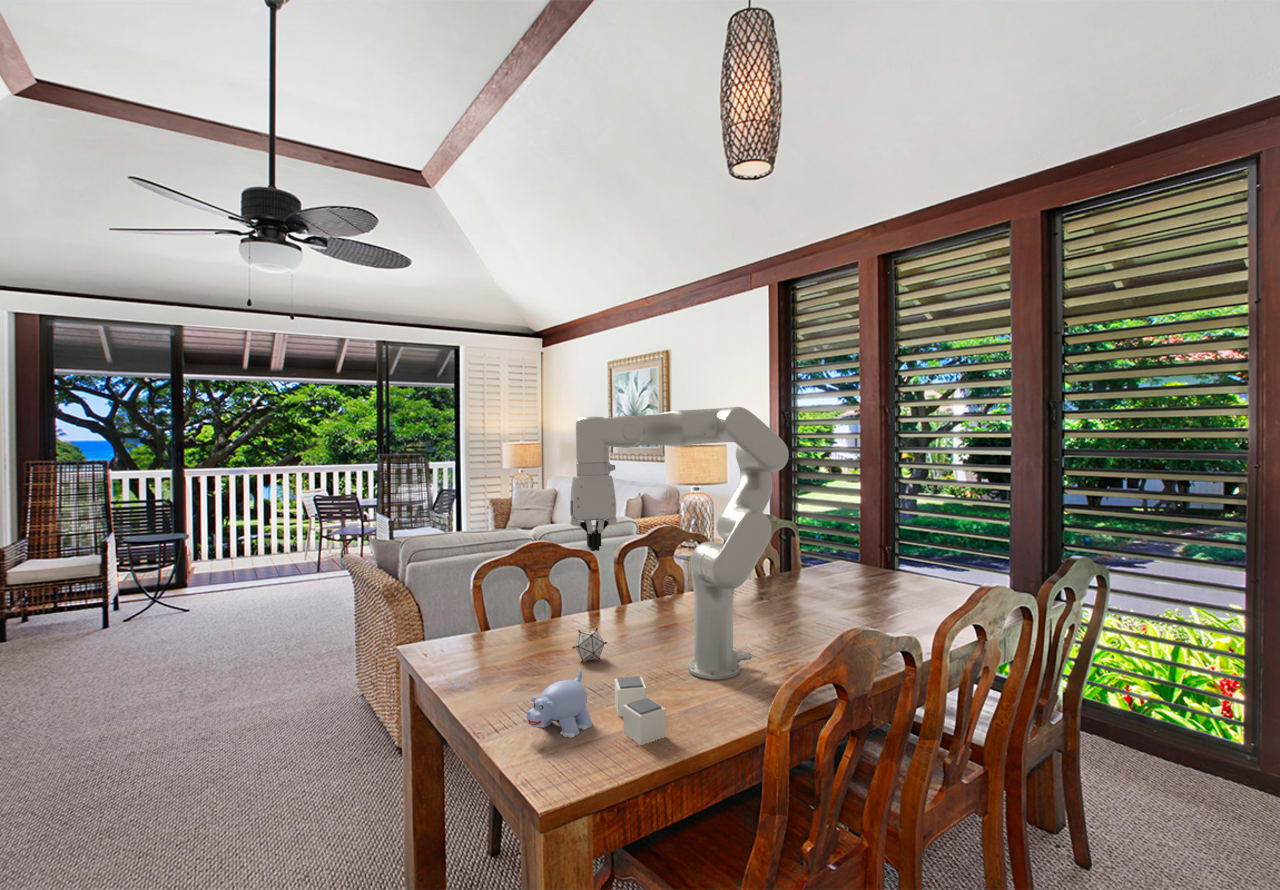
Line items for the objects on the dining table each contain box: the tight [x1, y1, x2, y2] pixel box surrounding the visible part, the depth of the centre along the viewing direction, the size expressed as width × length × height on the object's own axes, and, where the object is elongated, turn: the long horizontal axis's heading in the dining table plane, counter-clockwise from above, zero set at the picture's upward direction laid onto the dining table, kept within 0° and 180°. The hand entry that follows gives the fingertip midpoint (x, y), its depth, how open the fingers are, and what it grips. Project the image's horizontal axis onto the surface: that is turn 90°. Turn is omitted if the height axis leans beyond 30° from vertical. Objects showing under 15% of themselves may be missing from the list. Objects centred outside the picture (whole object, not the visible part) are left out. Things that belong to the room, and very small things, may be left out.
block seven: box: [622, 697, 667, 746], centre depth 121 cm, size 6×6×6 cm
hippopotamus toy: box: [525, 668, 594, 739], centre depth 125 cm, size 11×15×10 cm
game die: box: [571, 627, 608, 664], centre depth 162 cm, size 9×8×10 cm
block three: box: [613, 675, 647, 717], centre depth 133 cm, size 6×6×6 cm
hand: (594, 549), depth 143 cm, fingers closed
